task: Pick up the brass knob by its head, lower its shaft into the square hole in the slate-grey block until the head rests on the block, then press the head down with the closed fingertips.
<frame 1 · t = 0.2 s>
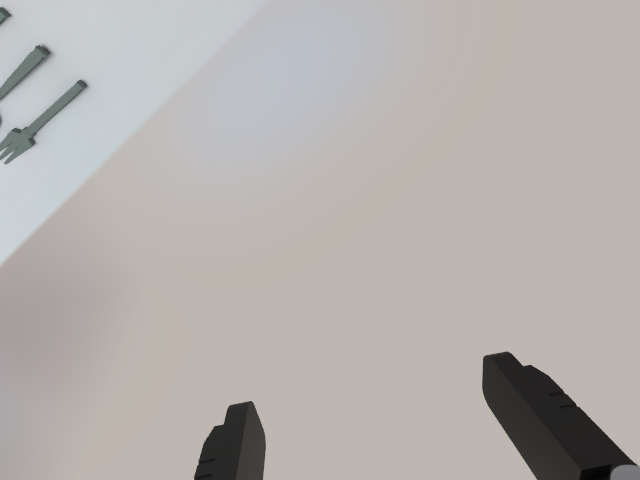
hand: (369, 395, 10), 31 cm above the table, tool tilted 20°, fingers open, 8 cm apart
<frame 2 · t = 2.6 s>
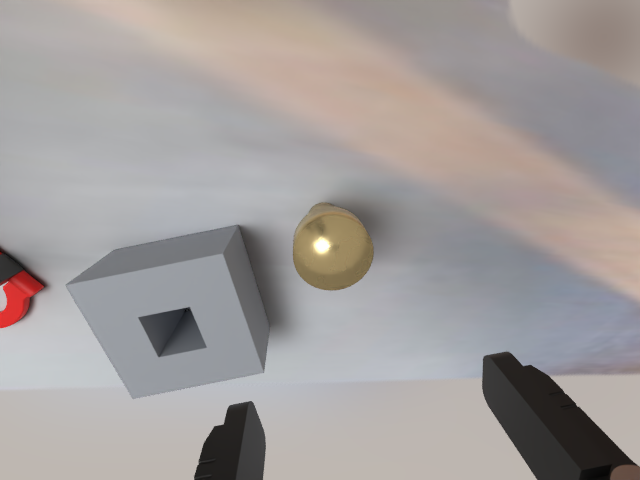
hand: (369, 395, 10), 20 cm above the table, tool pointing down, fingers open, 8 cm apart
slate block: (197, 290, 31), on the table
brass knob: (323, 217, 29), on the table
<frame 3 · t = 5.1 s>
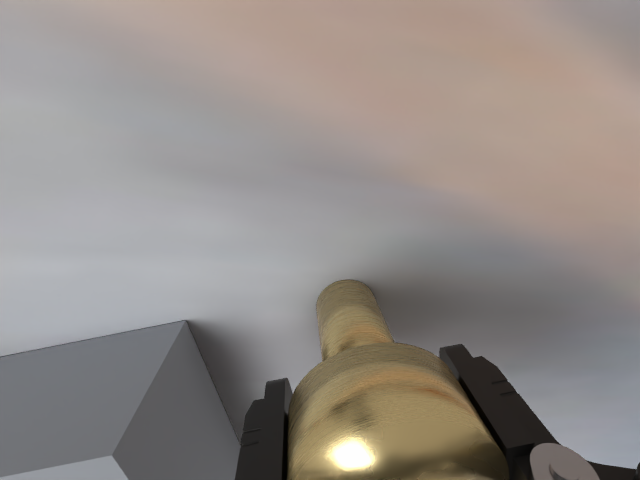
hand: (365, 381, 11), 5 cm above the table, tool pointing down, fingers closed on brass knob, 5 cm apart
slate block: (120, 424, 17), on the table
brass knob: (345, 305, 15), on the table, touching gripper
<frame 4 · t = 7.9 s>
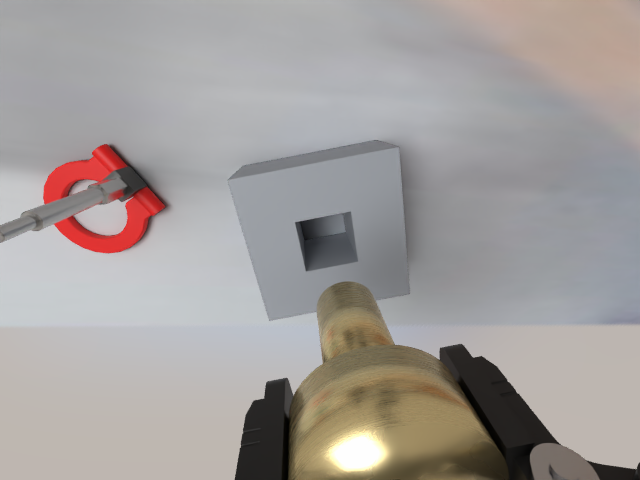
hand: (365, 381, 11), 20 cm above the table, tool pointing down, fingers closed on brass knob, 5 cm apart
slate block: (321, 216, 29), on the table
brass knob: (345, 307, 15), point 15 cm above the table, touching gripper
tow hook: (106, 204, 28), on the table
when the fingers open (8 cm above the table, at t = 11.0 s): brass knob drops 3 cm, resting on slate block.
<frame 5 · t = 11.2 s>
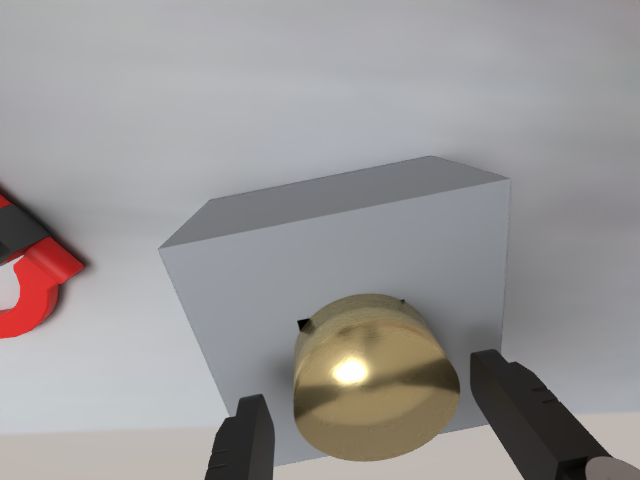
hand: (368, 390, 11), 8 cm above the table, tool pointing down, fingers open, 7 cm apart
slate block: (338, 275, 18), on the table
brass knob: (342, 279, 18), resting on slate block
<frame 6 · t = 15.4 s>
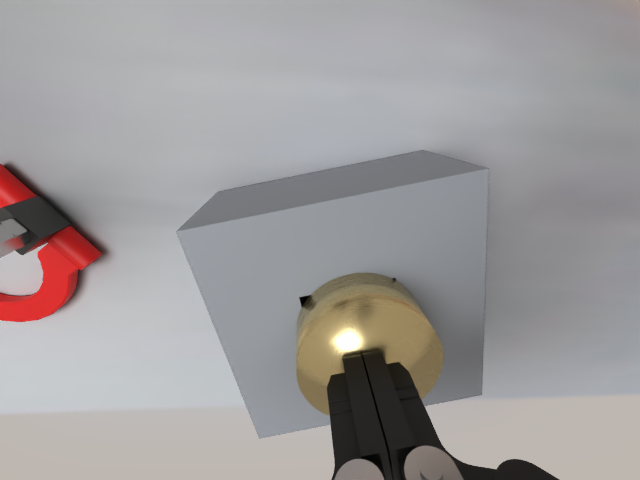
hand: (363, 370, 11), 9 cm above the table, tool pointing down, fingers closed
slate block: (336, 262, 20), on the table
brass knob: (340, 266, 19), resting on slate block, touching gripper
tow hook: (13, 250, 18), on the table
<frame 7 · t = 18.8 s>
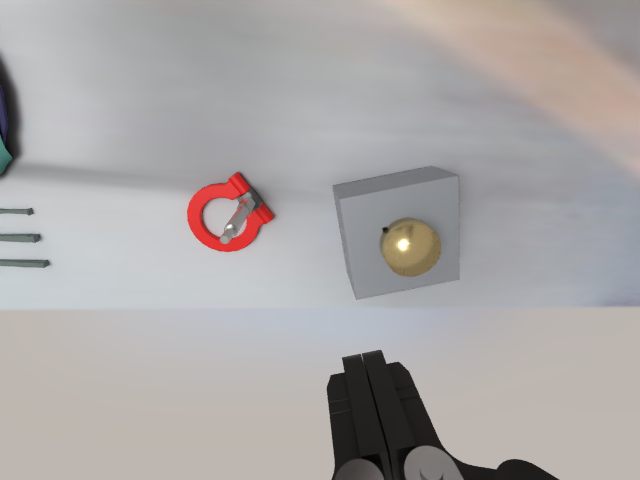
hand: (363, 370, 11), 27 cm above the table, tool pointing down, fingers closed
slate block: (386, 222, 38), on the table
brass knob: (389, 224, 38), resting on slate block
tow hook: (228, 215, 37), on the table
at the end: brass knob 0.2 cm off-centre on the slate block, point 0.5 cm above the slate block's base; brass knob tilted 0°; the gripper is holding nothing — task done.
